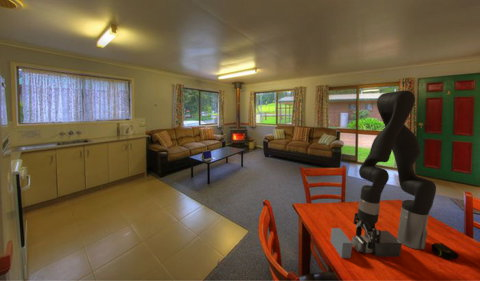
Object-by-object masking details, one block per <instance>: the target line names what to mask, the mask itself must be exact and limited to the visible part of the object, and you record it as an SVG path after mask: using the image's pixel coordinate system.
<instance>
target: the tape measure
mask: <svg viewBox="0 0 480 281" xmlns="http://www.w3.org/2000/svg"><path fill="white" fill-rule="evenodd" d="M431 251H432V252H433V253H434V254H436V255H437V256H438V257H440V258H443V259H447V260H457V259H459V257H460V256H459V253H457V252H456V251H455V250H453V249H451V248H450V247H448V246H447V245H445V244H444V243H441V242H440V243H438V242H434V243H432V244H431Z"/></svg>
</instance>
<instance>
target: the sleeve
mask: <svg viewBox="0 0 480 281" xmlns="http://www.w3.org/2000/svg"><path fill="white" fill-rule="evenodd" d="M380 231H381V236H380V244H375V251H374V253H373V255H374V257H386V258H387V257H388V258H389V257H392V258H393V257H397V258H398V257H399V258H400V257H401V253H402V246H403V244H402V243H401V242H400V241H399V240H398V239H397V237H395V236H394V235H393V234H392V233H391V232H389V231H388V230H380ZM369 234H372V232H369ZM364 235H366V232H365V231H364ZM371 239H372V236H371ZM376 240H377V239H376Z"/></svg>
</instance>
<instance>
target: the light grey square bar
mask: <svg viewBox="0 0 480 281" xmlns="http://www.w3.org/2000/svg"><path fill="white" fill-rule="evenodd" d="M368 241H369V238H368V236H367V235H365V234H364V235H362V234H361V235H359V234H356V233H355V236H352V238H351V242H352V248H354V250H356V252H361V253H362V254H364V255H365V254H374V251H375V246H374V249H369V248H368Z"/></svg>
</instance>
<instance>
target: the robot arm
mask: <svg viewBox="0 0 480 281" xmlns="http://www.w3.org/2000/svg"><path fill="white" fill-rule="evenodd" d="M415 102H416V97H415V94H414V93H413V92H412V91H411V90H407V89H405V90H397V91H389V92H384V93H381V94H380V95H379V96H378V98H377V101H376V107H377V111H378V114H379V115H380V118H381V120H382V122H383V125H384V127H383V129H382V130H381V131H379V133H378V134H377V135H376V136H375V138H374V139H373V141H372V143H371V147H370V151H369V154H368V155H367V156H366V158H364V159H365V160H364V161H363V162H362V164H361V165H360V167H359V169H358V173H359V174H358V175H359V176H360V178H362V179H363V180H365V181H368V182H371V183H372V185H369V184H365V185H362V187H361V189H360V190H361V191H360V198H359V202H358V208H357V212H354V216H353V217H354V218H353V224H354V225H355V235H356V234H359V235H362V232H363V231H362V230H364V233H365V232H366V235H367V236H368V238H369V241H368V248H369V249H374V246H375V244H380V236H381V231H382V230H380V229H377V228H376V224H377V223H378V222H379V216H380V208H381V205H380V203H381V196H382V193H383V191H384V188H385V186H386V184H388V181H389V179H390V176H389V172H388V171H387V170H386V169H385V168H382V167H379V166H376V165H377V164H378V163H387V162H389V160H390V158H391V155H392V154H393V157H394V161H395V164H396V169H397V176H398V183H399V187H400V189H401V190H402V191H403V192H405V193H406V194H409V195H411V196H413V197H414V198H413V199H405V200H403V201H402V202H401V206H400V207H401V209H400V215H399V222H398V229H397V234H396V235H397V236H396V238H397V239H398V240H399V241H400V242H401V243H402V245H404V246H406V247H408V248H411V249H415V250H424V251H425V247H426V242H427V235H428V230H427V225H428V220H429V214H430V211H431V209H432V208H433V204H434V200H435V196H436V192H437V186H436V183H435V182H434V181H432V180H430V179H427V178H425V177H424V178H423V177H422V176H418V175H417V174H416V172H415V169H414V166H415V163H416V162H417V160H418V159H419V157H420V156H421V152H422V151H421V147H420V146H421V145H420V142H419V140H418V137H417V135H415V133H414V131H412V130H411V129H410V128H409V127H408V126H407V125H406V121H407V120H408V118H409V116H410V114H411V112H412V110H413V108H414V106H415ZM369 232H372V234H369ZM371 236H372V239H371ZM376 239H377V240H376Z"/></svg>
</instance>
